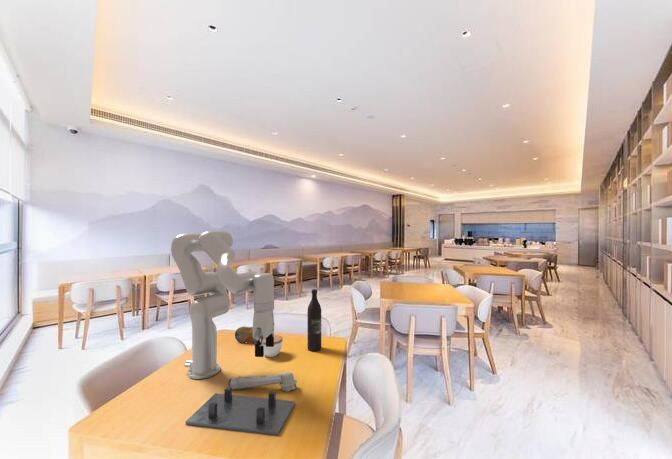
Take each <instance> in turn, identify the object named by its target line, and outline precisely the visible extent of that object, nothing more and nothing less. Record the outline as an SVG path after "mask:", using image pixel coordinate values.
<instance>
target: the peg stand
mask: <svg viewBox="0 0 672 459" xmlns="http://www.w3.org/2000/svg"><path fill="white" fill-rule="evenodd" d="M295 405H296V401H295V400H286V399H277V392H276V391H269V393H268V394H267V398H266V397H256V396H246V395H234V394H233V390H232V388H229V386H228V387H225V389H224V392H223V393H214V394H213V395H212V396H211V397H210V398H209V399H208V400H207V401H205V403H203V405H201V406H200V407H199V408H198V409H197V410H196V411H195V412H194V413H193V414H192V415H191V416H189V418H187V419H186V420H185V425H186V426H187V425H188V426H195V427H202V428H211V429H220V430H226V431H228V430H229V431H238V432H246V433H251V434H252V433H254V434H262V435H269V436H270V435H271V436H277V437H278V436H280V433H281V432H282V430H283V428H284V426H285V424H286V422H287V420H288V419H289V417H290V415H291V413H292V410H293V409H294V407H295Z"/></svg>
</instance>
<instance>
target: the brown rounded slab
mask: <svg viewBox="0 0 672 459" xmlns="http://www.w3.org/2000/svg"><path fill="white" fill-rule="evenodd" d="M259 337H262V336H259ZM234 338H235V341H237V342H238V343H239V342H247V343H246V344H250V343H254V340H253V326H240V327H238V328H237V329H236V330H235V332H234ZM259 341H260V340H259Z"/></svg>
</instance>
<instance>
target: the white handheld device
mask: <svg viewBox="0 0 672 459" xmlns="http://www.w3.org/2000/svg"><path fill="white" fill-rule="evenodd" d="M228 380H229V381H228V388H232V391H233V390H241V389H248V388H255V387H263V386H271V385H276V384H277V385H278V384H279V386H280V387H281V390H282V391H283V392H286V393H287V392H291V391H294V390H296V389H297V378H295V376H294V373H293V372H292V371H285V372H283V373H279V374H267V375H250V376H241V375H239V376H238V377H231V378H230V379H228Z"/></svg>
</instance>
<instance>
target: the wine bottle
mask: <svg viewBox="0 0 672 459" xmlns="http://www.w3.org/2000/svg"><path fill="white" fill-rule="evenodd" d="M306 314H307V315H306V316H307V350H308V351H310V352H319V351H321V349H322V306H321V304H320V301H319V300H318V289H315V288H313V289H312V290H311V300H310V302H309V304H308V306H307V313H306Z"/></svg>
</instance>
